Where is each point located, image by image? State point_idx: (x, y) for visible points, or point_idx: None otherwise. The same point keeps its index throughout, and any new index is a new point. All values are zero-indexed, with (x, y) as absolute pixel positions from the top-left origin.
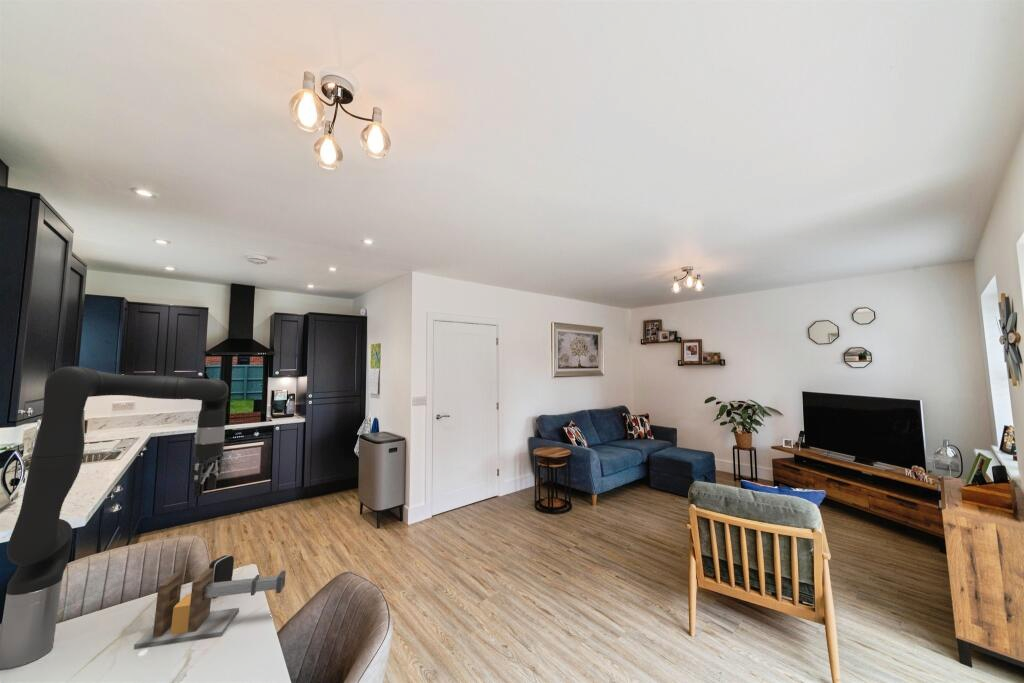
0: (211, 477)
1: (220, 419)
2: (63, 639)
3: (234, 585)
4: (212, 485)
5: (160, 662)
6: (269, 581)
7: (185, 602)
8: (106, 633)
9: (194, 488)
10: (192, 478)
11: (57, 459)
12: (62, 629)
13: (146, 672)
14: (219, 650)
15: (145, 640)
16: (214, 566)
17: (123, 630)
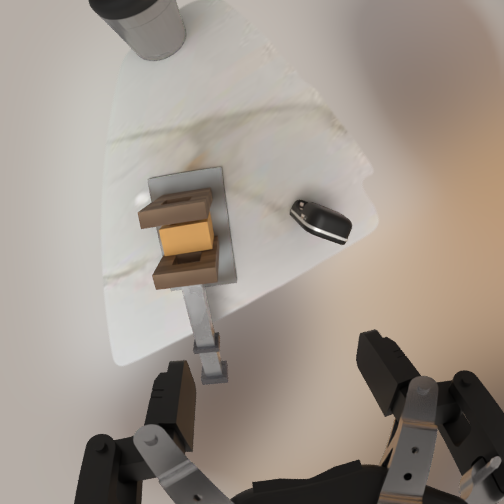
0: (397, 399)
1: None
2: (195, 49)
3: (190, 322)
4: (367, 369)
5: (120, 240)
6: (203, 366)
7: (175, 240)
8: (200, 99)
9: (148, 410)
10: (92, 474)
11: None
12: (227, 26)
13: (104, 236)
14: (143, 300)
15: (155, 189)
16: (306, 224)
17: (205, 119)
